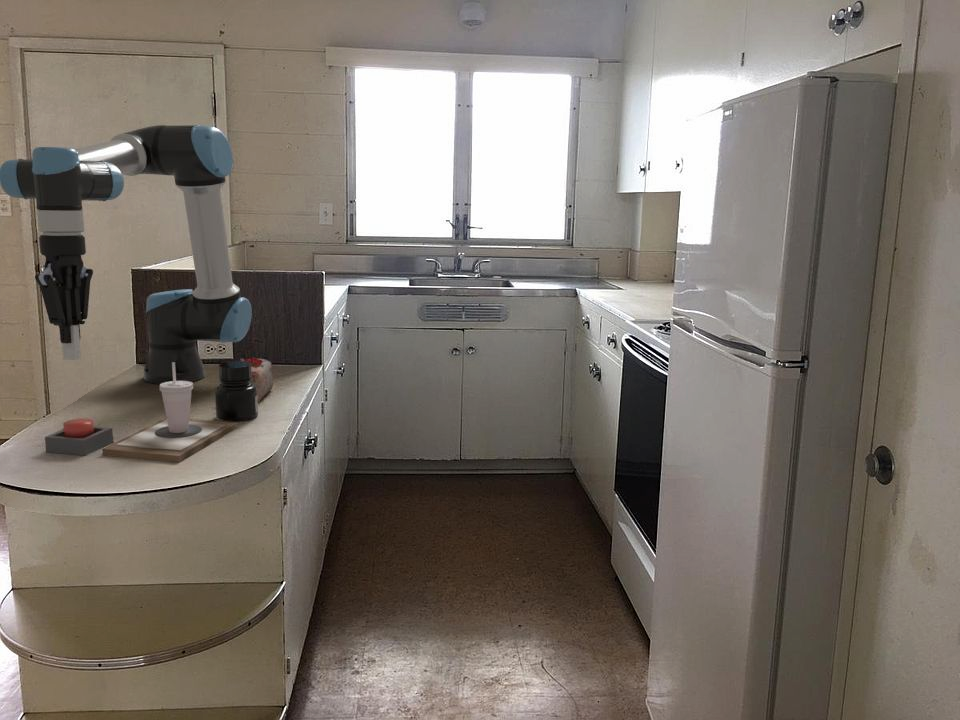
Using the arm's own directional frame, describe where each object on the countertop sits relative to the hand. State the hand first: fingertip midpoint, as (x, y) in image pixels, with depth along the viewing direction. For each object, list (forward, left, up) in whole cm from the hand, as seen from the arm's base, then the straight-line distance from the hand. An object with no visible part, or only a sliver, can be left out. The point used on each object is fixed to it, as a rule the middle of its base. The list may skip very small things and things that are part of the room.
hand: (72, 358), depth 151 cm
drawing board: (-8, +15, -18) cm, 25 cm away
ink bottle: (-27, +19, -18) cm, 38 cm away
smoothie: (-10, +15, -16) cm, 24 cm away
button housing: (0, 0, -18) cm, 18 cm away
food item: (-44, +14, -18) cm, 49 cm away
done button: (0, 0, -15) cm, 15 cm away
